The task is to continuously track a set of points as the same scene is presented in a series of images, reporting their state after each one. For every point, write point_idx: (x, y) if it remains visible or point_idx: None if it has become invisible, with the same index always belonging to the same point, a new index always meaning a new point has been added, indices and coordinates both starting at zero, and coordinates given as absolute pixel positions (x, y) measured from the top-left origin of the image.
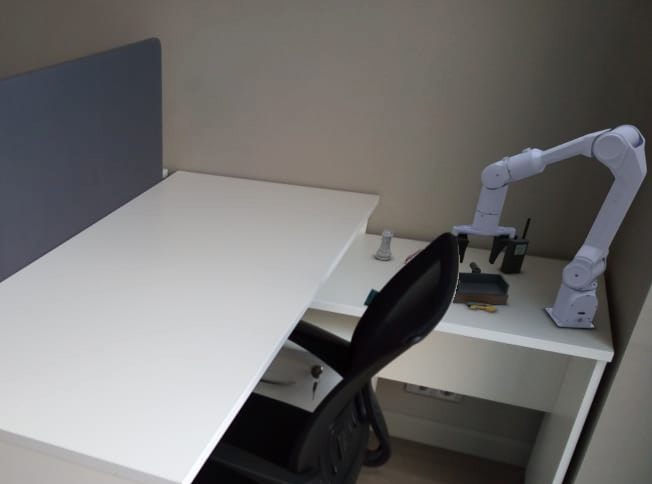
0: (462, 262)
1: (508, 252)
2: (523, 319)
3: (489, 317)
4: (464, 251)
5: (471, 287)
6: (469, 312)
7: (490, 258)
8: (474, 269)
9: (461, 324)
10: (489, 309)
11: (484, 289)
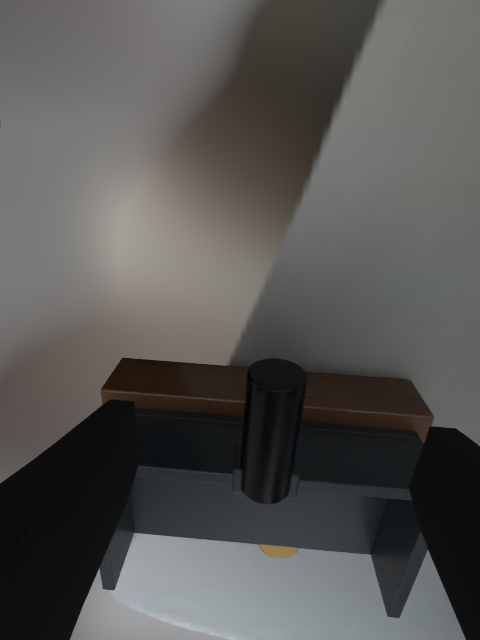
0: (134, 474)
1: None
2: (377, 590)
3: (252, 576)
4: (62, 630)
5: (217, 490)
6: (187, 546)
7: (441, 485)
8: (242, 488)
9: (136, 606)
10: (268, 555)
11: (283, 511)
